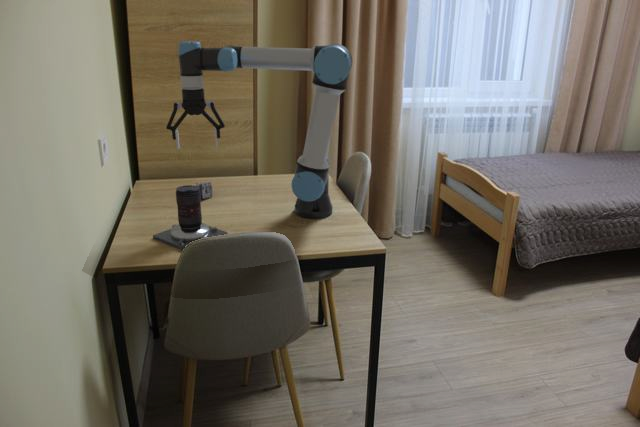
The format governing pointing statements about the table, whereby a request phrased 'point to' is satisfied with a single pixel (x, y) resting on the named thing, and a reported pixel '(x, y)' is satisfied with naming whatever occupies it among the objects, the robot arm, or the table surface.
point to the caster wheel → (205, 189)
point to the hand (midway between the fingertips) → (197, 147)
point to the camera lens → (189, 208)
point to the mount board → (175, 243)
